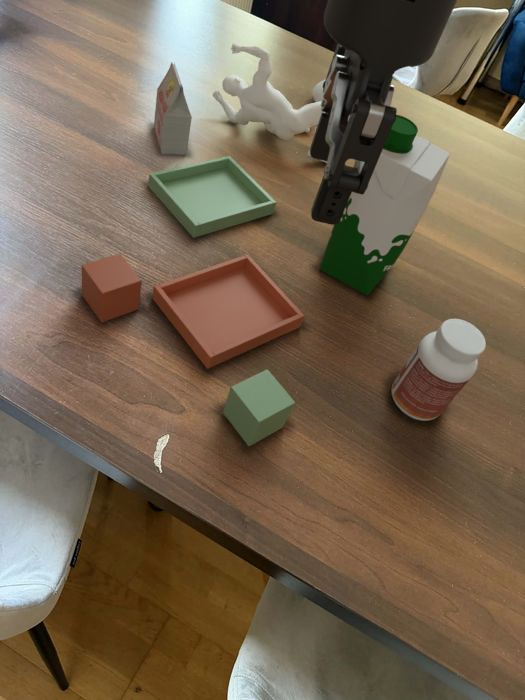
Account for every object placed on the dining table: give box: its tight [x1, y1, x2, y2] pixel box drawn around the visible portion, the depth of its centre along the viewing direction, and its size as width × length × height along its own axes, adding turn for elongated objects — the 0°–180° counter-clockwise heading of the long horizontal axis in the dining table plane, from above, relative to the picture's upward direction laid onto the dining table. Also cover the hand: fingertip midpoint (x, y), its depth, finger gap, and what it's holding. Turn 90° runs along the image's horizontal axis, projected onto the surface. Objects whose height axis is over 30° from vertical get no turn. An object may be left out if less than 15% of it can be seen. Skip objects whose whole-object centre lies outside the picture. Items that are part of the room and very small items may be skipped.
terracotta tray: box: [152, 253, 306, 370], centre depth 65 cm, size 13×11×2 cm
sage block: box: [222, 369, 296, 447], centre depth 56 cm, size 4×4×4 cm
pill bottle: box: [391, 318, 487, 422], centre depth 60 cm, size 6×6×11 cm
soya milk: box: [319, 114, 451, 297], centre depth 69 cm, size 9×9×20 cm
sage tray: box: [147, 155, 277, 239], centre depth 78 cm, size 13×11×2 cm
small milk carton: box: [153, 61, 193, 156], centre depth 81 cm, size 4×7×10 cm, turn 16°
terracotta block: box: [81, 253, 143, 323], centre depth 61 cm, size 4×4×4 cm
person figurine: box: [212, 43, 327, 164], centre depth 88 cm, size 13×13×18 cm
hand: (322, 187), depth 46 cm, fingers open, 8 cm apart
